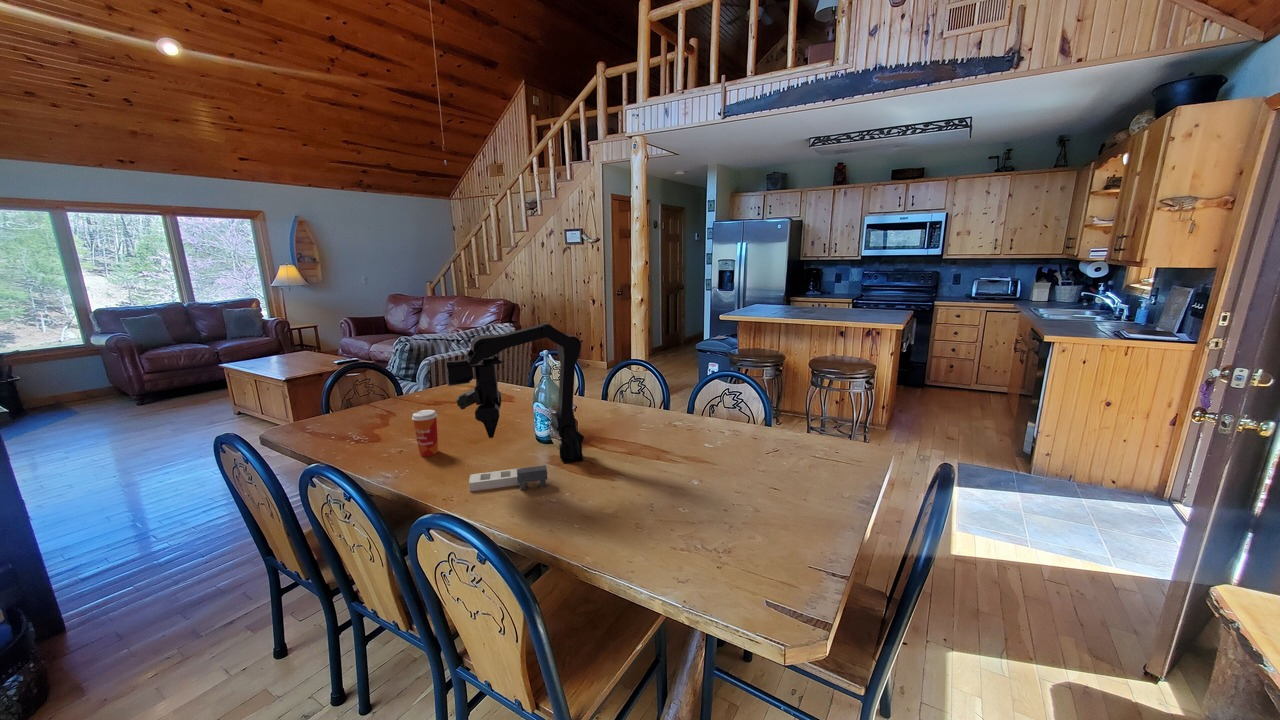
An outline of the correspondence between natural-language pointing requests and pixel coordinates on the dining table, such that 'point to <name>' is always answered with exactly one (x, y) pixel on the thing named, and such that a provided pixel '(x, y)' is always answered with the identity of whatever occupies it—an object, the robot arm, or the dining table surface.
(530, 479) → the dark grey blocky piece
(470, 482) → the rail
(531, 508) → the dining table surface
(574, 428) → the robot arm
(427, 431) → the paper cup
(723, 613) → the dining table surface
